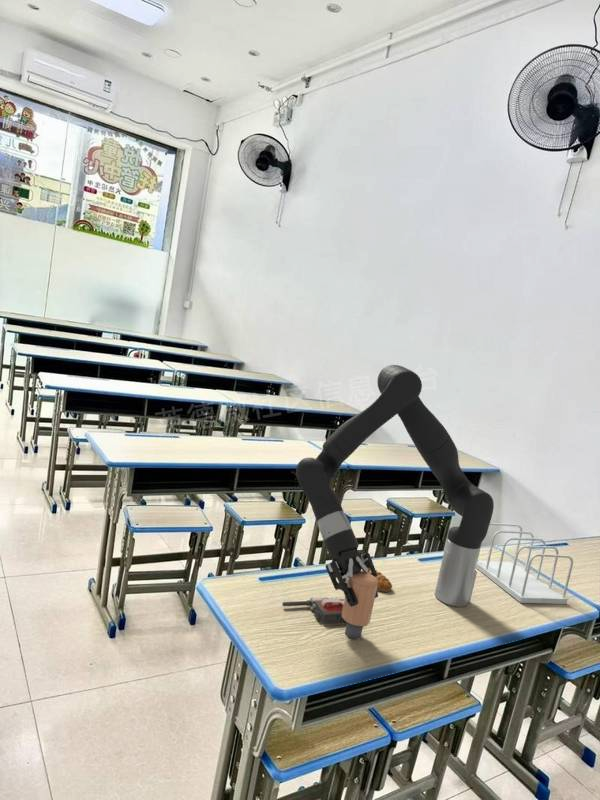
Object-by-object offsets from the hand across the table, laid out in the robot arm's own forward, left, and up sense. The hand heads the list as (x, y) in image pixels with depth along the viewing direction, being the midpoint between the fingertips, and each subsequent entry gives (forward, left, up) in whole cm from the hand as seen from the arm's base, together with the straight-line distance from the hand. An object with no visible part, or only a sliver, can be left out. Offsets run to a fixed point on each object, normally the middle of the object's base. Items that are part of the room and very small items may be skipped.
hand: (364, 601), depth 126 cm
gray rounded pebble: (0, -2, -9) cm, 9 cm away
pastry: (-21, -23, -10) cm, 32 cm away
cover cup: (+1, -2, -5) cm, 5 cm away
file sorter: (-72, -16, -10) cm, 74 cm away
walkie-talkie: (+3, -11, -10) cm, 15 cm away
